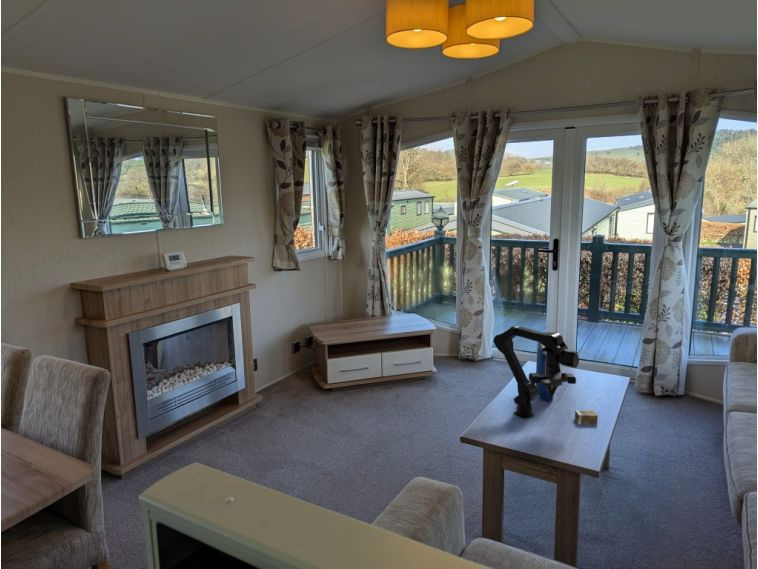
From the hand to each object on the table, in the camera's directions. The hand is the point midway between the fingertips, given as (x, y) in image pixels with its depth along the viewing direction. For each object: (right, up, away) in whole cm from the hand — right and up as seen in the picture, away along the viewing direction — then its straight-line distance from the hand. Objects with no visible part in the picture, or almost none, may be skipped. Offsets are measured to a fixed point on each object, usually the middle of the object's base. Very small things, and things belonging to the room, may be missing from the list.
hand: (551, 397), depth 228 cm
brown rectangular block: (+12, -9, +3) cm, 16 cm away
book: (+8, -6, +35) cm, 36 cm away
